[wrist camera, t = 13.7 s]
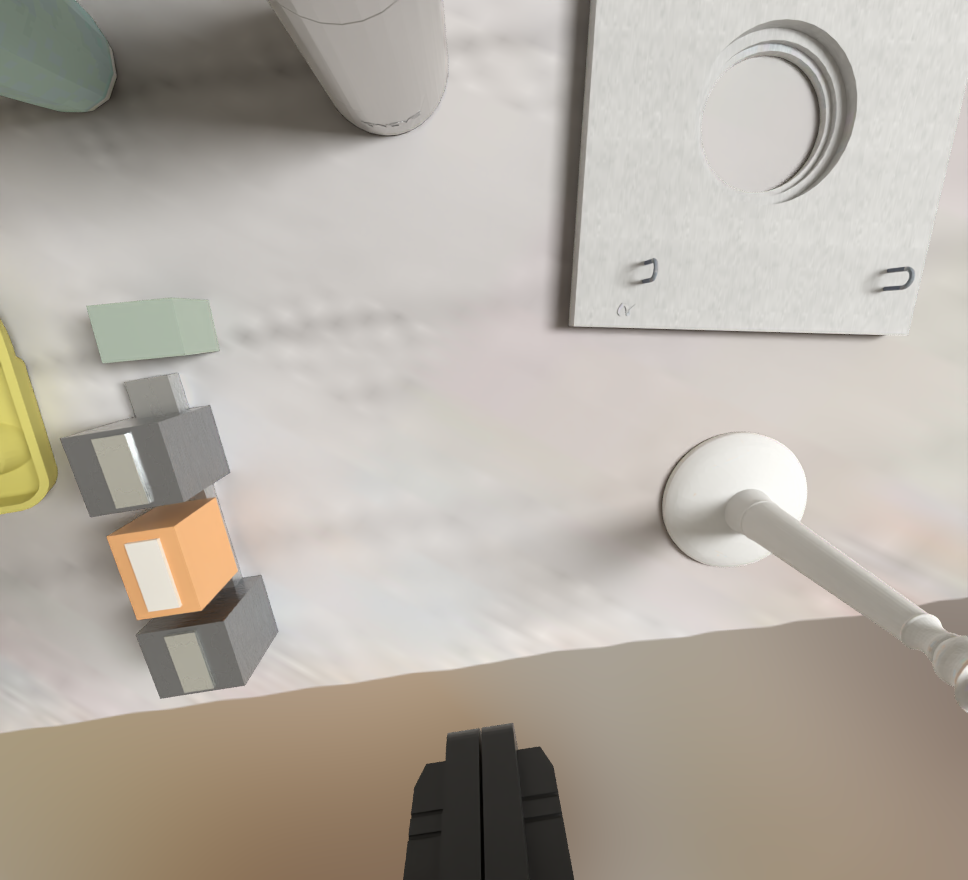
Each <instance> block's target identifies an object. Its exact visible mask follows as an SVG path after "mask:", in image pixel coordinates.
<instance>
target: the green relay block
mask: <svg viewBox="0 0 968 880" xmlns="http://www.w3.org/2000/svg"><path fill="white" fill-rule="evenodd" d="M86 307H87V310H88V314H89V318H90V321H91V325H92V328H93V332H94V335H95V339H96V342H97V346H98V349H99V353H100V356H101V360H102V363H112V362H122V361H132V360H142V359H153V358H163V357H173V356H183V355H192V354H199V353H207V352H215V351H220V349H219V344H218V340H217V335H216V331H215V327H214V322H213V318H212V313H211V309H210V304H209V300H199V299H184V298H163V299H152V300H142V301H132V302H122V303H111V304H101V305H91V306H86Z"/></svg>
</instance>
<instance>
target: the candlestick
mask: <svg viewBox="0 0 968 880" xmlns="http://www.w3.org/2000/svg"><path fill="white" fill-rule="evenodd" d="M806 500H807V483H806V478H805V474H804V471H803V469H802V466H801V464H800V463H799V461H798V459H797V458H796V457H795V455H794V454H793V453H792V452H791V451H790V450H789V449H788V448H787V447H786V446H784V445H783V444H782V443H780V442H778V441H777V440H775V439H772V438H770V437H768V436H765V435H762V434H758V433H753V432H730V433H725V434H721V435H718V436H715V437H712V438H710V439H708V440H706V441H704V442H702V443H700V444H699V445H697V446H696V447H694V448H693V449H692V450H691V451H689V452H688V453H687V454H686V455H685V456H684V457H683V458H682V459H681V460H680V462H679V463H678V464H677V465H676V467H675V468H674V470H673V471H672V473H671V475H670V477H669V479H668V481H667V484H666V487H665V490H664V494H663V501H662V512H663V519H664V523H665V526H666V529H667V531H668V533H669V535H670V537H671V538H672V540H673V541H674V543H675V544H676V545H677V546H678V547H679V548H680V549H681V550H682V551H683V552H684V553H685V554H686V555H688V556H689V557H691V558H692V559H694V560H696V561H698V562H700V563H703V564H706V565H709V566H714V567H723V568H730V567H739V566H744V565H748V564H751V563H754V562H757V561H759V560H761V559H763V558H765V557H767V556H768V555H770V554H774V555H775V556H777V557H778V558H780V559H781V560H783V561H784V562H786V563H787V564H789V565H790V566H791V567H793V568H794V569H796V570H797V571H799V572H800V573H802V574H803V575H805V576H806V577H808V578H809V579H811V580H812V581H814V582H815V583H816V584H818V585H819V586H821V587H822V588H824V589H825V590H827V591H828V592H830V593H831V594H833V595H834V596H836V597H837V598H839V599H840V600H842V601H843V602H844V603H846V604H847V605H849V606H850V607H852V608H853V609H855V610H856V611H858V612H859V613H861V614H862V615H864V616H865V617H867V618H868V619H870V620H871V621H872V622H874V623H875V624H877V625H878V626H880V627H881V628H883V629H884V630H886V631H887V632H889V633H890V634H892V635H893V636H895V637H896V638H897V639H899V640H900V641H902V643H903V644H904V645H905V646H906V647H908V648H910V649H914V650H920V651H922V652H924V653H925V654H926V655H927V656H928V658H929V660H930V661H931V662H932V663H933V668H934V671H935V673H936V674H937V676H938V677H939V678H940V679H941V680H942V681H944V682H945V683H947V684H949V685H951V686H953V687H955V689H954V693H955V699H956V701H957V703H958V705H959V706H960V707H961V708H962V709H963V710H964V711H966V712H967V713H968V636H959V635H957V634H954V633H950V632H948V631H946V630H945V629H943V628H942V626H941V623H940V621H939V619H938V618H937V617H935V616H933V615H930V614H928V613H926V612H925V611H924V610H922V609H921V608H919V607H918V606H917V605H915V604H914V603H913V602H911V601H910V600H908V599H907V598H906V597H904V596H903V595H901V594H900V593H899V592H897V591H896V590H894V589H893V588H892V587H890V586H889V585H887V584H886V583H885V582H883V581H882V580H880V579H879V578H878V577H876V576H875V575H873V574H872V573H871V572H869V571H868V570H867V569H865V568H864V567H862V566H861V565H860V564H858V563H857V562H855V561H854V560H853V559H851V558H850V557H848V556H847V555H846V554H844V553H843V552H841V551H840V550H839V549H837V548H836V547H834V546H833V545H832V544H830V543H829V542H827V541H826V540H825V539H823V538H822V537H820V536H819V535H818V534H816V533H815V532H814V531H812V530H811V529H809V528H808V527H807V526H805V525H804V524H802V523H801V522H800V520H801V518H802V515H803V513H804V509H805V506H806Z"/></svg>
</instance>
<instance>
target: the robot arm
mask: <svg viewBox="0 0 968 880" xmlns="http://www.w3.org/2000/svg"><path fill="white" fill-rule="evenodd" d="M267 1H268V2H269V4H270V5H271V7H272V9H273V10H274V12H275V13H276V15H277V16H278V18H279V19H280V21H281V23H282V24H283V26H284V27H285V29H286V30H287V32H288V34H289V35H290V37H291V38H292V40H293V41H294V43H295V44H296V46H297V48H298V49H299V51H300V52H301V54H302V55H303V57H304V58H305V60H306V62H307V63H308V65H309V66H310V68H311V69H312V71H313V72H314V74H315V76H316V77H317V79H318V81H319V82H320V84H321V85H322V87H323V88H324V90H325V91H326V93H327V94H328V96H329V97H330V99H331V100H332V102H333V104H334V105H335V107H336V108H337V109H338V110H339V111H340V113H341V114H342V115H343V116H344V117H345V118H346V119H347V120H348V121H350V122H351V123H353V124H354V125H355V126H357V127H358V128H360V129H363V130H365V131H367V132H370V133H374V134H379V135H398V134H402V133H405V132H408V131H411V130H412V129H414V128H416V127H418V126H419V125H421V124H422V123H423V122H424V121H425V120H426V119H428V118H429V117H430V116H431V115H432V113H433V112H434V110H435V109H436V107H437V106H438V104H439V103H440V100H441V98H442V96H443V93H444V91H445V87H446V82H447V77H448V52H447V41H446V27H445V15H444V4H443V0H267ZM411 816H412V817H411V819H410V828H409V841H408V844H407V853H406V862H405V869H404V877H403V880H574V876H573V871H572V865H571V860H570V854H569V850H568V844H567V838H566V833H565V827H564V822H563V817H562V811H561V805H560V800H559V795H558V789H557V784H556V778H555V773H554V768H553V765H552V764H551V762H550V761H549V759H548V758H547V756H546V755H545V753H544V752H543V750H542V749H541V747H533V748H527V749H520V750H518V747H517V741H516V736H515V730H514V725H513V723H510V724H504V725H497V726H490V727H483V728H482V731H480V729H472V730H465V731H459V732H452V733H448V735H447V744H446V761H443V762H437V763H430V764H426V766H425V768H424V770H423V772H422V774H421V775H420V778H419V779H418V781H417V783H416V786H415V787H414V794H413V803H412V811H411Z"/></svg>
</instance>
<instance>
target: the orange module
mask: <svg viewBox="0 0 968 880" xmlns="http://www.w3.org/2000/svg"><path fill="white" fill-rule="evenodd" d="M107 540H108V542H109V545H110V548H111V550H112V553H113V556H114V559H115V561H116V564H117V567H118V569H119V572H120V575H121V578H122V580H123V583H124V586H125V588H126V591H127V594H128V597H129V599H130V602H131V605H132V607H133V610H134V613H135V616H136V618H137V620H142V619H149V618H156V617H162V616H169V615H176V614H183V613H189V612H196V611H202V610H203V609H204V608H205V607H206V605H207V604H208V603H209V602H210V601H211V600H212V599H213V598H214V597H215V596H216V595H217V593H218V592H219V591H220V590H221V589H222V588H223V587H224V586H225V585H226V584H227V583H228V581H229V580H230V579H231V578H232V577H233V576H234V575H235V574H236V573H237V572H238V569H237V566H236V562H235V559H234V556H233V552H232V549H231V546H230V543H229V539H228V536H227V533H226V529H225V526H224V523H223V519H222V516H221V513H220V509H219V506H218V503H217V499H216V497H213V498H206V499H200V500H193V501H186V502H182V503H176V504H170V505H163V506H157V507H155V508H153V509H152V510H150V511H148V512H147V513H145V514H143V515H142V516H140V517H138V518H137V519H135V520H133V521H132V522H130V523H128V524H127V525H125V526H123V527H122V528H120V529H118V530H117V531H115V532H113V533H112V534H110V535H108V536H107Z"/></svg>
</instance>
